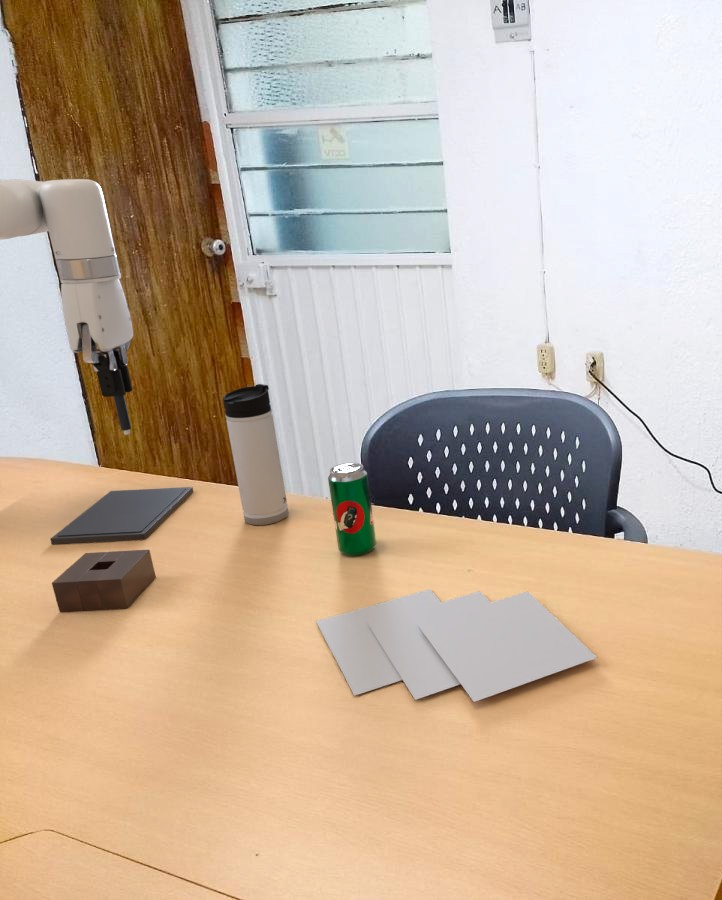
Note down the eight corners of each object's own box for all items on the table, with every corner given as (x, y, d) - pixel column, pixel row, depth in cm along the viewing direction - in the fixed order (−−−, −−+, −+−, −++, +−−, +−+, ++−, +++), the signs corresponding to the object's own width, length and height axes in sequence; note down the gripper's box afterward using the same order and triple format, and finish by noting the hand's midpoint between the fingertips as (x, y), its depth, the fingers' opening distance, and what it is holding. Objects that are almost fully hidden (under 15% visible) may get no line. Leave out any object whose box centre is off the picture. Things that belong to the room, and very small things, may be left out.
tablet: (51, 544, 118) (49, 538, 118) (111, 495, 135) (110, 490, 135) (145, 539, 119) (143, 533, 119) (193, 491, 136) (192, 486, 136)
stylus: (120, 435, 126) (102, 358, 122) (124, 433, 127) (107, 356, 123) (130, 435, 126) (112, 358, 122) (134, 432, 127) (116, 356, 123)
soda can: (383, 548, 114) (373, 467, 110) (350, 561, 111) (338, 478, 107) (365, 537, 118) (354, 458, 114) (332, 549, 114) (320, 468, 110)
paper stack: (378, 742, 76) (377, 736, 76) (315, 621, 96) (315, 616, 96) (597, 663, 87) (597, 657, 87) (499, 569, 107) (499, 564, 107)
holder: (59, 612, 100) (51, 582, 99) (92, 580, 108) (85, 552, 106) (127, 608, 101) (120, 579, 99) (155, 576, 108) (149, 549, 107)
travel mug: (299, 512, 127) (279, 386, 120) (263, 529, 121) (240, 397, 115) (272, 505, 130) (251, 381, 123) (235, 520, 124) (211, 392, 118)
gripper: (90, 264, 125) (117, 381, 132) (30, 278, 111) (64, 410, 117) (140, 262, 126) (165, 379, 132) (88, 276, 111) (118, 407, 117)
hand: (117, 393), depth 125 cm, fingers closed on stylus, 1 cm apart
